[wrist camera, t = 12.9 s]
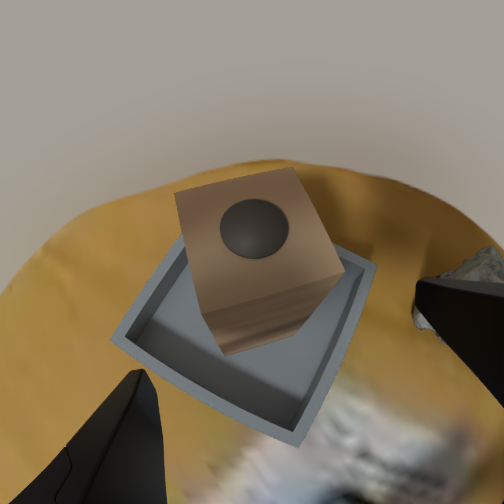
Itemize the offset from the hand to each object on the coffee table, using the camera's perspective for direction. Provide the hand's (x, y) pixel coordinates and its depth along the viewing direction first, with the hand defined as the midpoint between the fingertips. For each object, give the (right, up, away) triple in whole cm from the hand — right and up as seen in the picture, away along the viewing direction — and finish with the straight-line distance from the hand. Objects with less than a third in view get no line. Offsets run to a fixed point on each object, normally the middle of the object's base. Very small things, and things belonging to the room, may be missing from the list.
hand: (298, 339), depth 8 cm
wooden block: (-2, -2, +12) cm, 12 cm away
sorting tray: (-2, -2, +13) cm, 13 cm away
